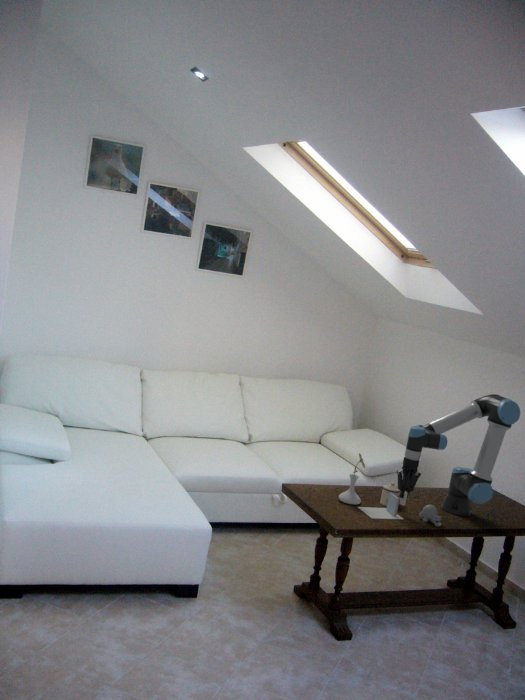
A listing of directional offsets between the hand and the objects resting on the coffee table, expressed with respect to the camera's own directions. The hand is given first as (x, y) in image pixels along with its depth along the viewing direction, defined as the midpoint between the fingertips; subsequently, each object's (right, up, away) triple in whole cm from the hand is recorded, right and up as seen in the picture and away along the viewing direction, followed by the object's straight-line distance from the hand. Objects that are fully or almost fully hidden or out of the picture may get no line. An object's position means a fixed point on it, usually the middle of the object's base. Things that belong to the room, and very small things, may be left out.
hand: (402, 504), depth 337 cm
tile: (-6, -4, -2) cm, 7 cm away
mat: (-11, -4, -4) cm, 13 cm away
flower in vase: (-25, -1, +7) cm, 26 cm away
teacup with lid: (-3, -4, +14) cm, 14 cm away
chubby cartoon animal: (+12, -8, -5) cm, 16 cm away
